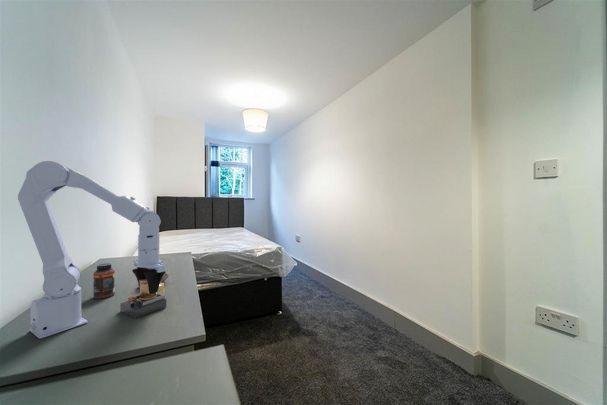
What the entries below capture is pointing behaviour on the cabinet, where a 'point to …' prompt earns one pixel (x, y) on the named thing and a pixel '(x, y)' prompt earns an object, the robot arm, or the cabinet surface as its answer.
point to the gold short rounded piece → (161, 288)
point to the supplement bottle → (104, 281)
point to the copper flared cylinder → (145, 290)
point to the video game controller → (163, 277)
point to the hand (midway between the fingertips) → (148, 291)
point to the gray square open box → (142, 305)
